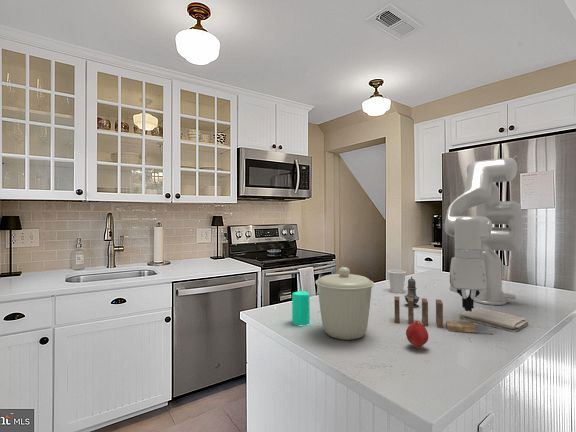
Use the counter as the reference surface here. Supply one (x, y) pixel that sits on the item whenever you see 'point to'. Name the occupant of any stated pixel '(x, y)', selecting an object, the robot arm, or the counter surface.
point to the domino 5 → (461, 326)
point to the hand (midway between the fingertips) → (467, 310)
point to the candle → (300, 308)
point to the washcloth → (495, 319)
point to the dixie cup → (397, 280)
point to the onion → (417, 334)
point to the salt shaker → (412, 292)
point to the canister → (344, 304)
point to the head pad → (482, 329)
